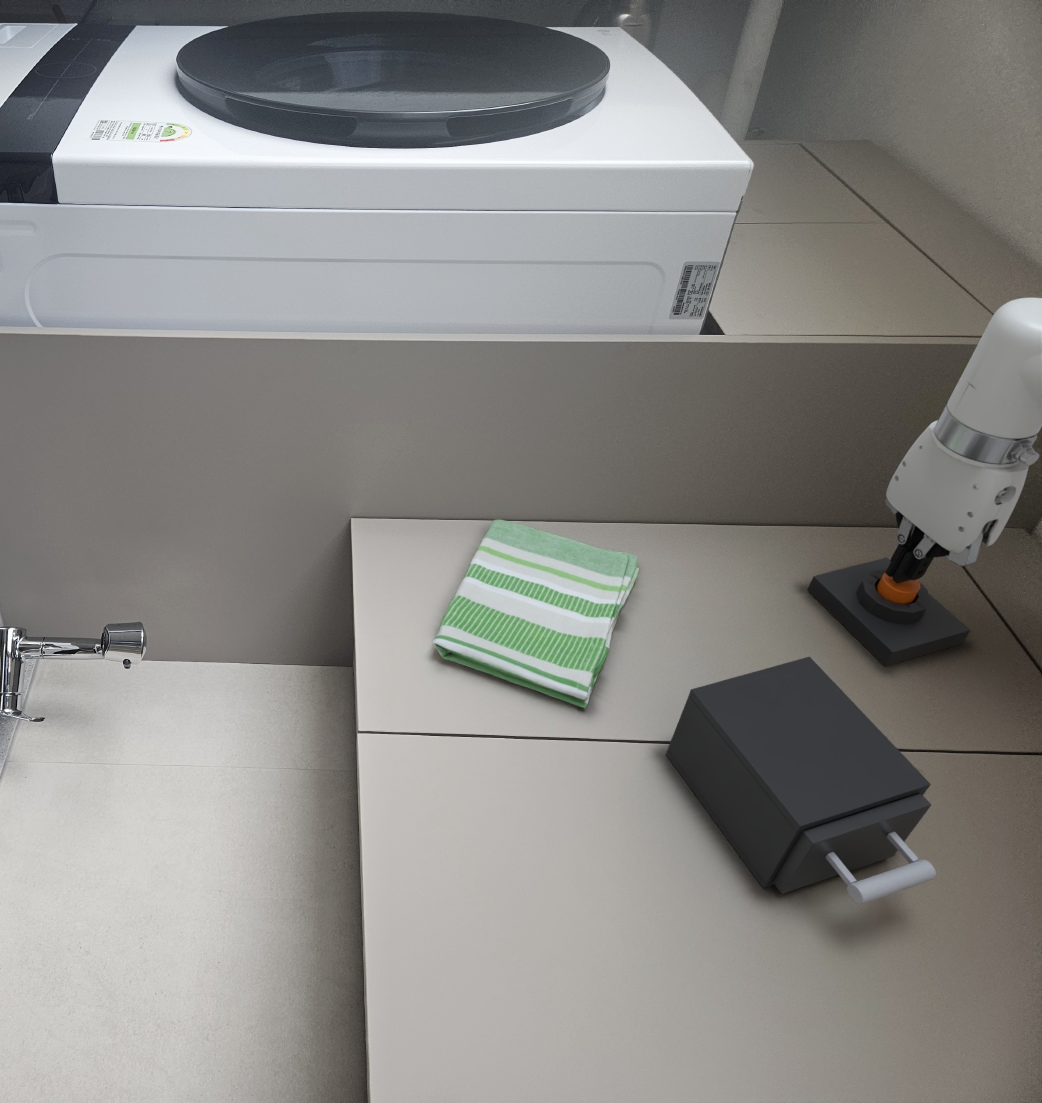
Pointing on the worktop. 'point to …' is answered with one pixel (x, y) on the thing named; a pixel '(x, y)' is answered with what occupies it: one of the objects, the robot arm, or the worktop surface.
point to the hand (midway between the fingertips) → (902, 575)
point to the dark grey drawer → (860, 851)
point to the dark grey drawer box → (784, 759)
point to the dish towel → (537, 610)
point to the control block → (886, 614)
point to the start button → (898, 589)
